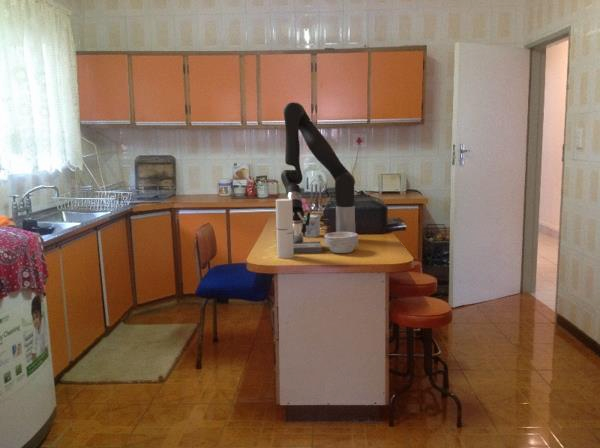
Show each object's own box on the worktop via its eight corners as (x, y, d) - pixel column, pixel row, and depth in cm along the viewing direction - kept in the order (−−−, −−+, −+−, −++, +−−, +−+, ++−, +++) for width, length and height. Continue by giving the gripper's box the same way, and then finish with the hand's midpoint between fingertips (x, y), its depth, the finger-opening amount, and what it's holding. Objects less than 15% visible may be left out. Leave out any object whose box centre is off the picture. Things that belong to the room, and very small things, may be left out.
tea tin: (301, 240, 257) (300, 219, 255) (305, 242, 252) (304, 220, 250) (289, 241, 255) (288, 220, 253) (293, 243, 250) (292, 222, 248)
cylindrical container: (277, 254, 242) (275, 199, 238) (293, 254, 243) (291, 198, 238) (277, 258, 235) (276, 201, 231) (294, 258, 236) (292, 200, 231)
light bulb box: (296, 236, 283) (296, 216, 281) (301, 234, 289) (301, 214, 287) (315, 237, 279) (315, 216, 277) (320, 235, 285) (320, 214, 283)
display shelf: (320, 246, 257) (320, 238, 257) (321, 252, 244) (321, 244, 244) (284, 247, 257) (284, 239, 257) (283, 253, 244) (283, 244, 244)
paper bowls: (324, 248, 254) (324, 231, 253) (357, 247, 254) (356, 230, 253) (324, 255, 239) (324, 237, 238) (359, 255, 239) (359, 237, 238)
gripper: (279, 199, 257) (281, 228, 247) (309, 197, 258) (313, 227, 248) (279, 208, 263) (281, 237, 253) (308, 207, 264) (312, 236, 255)
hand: (297, 232), depth 251 cm, fingers closed on tea tin, 5 cm apart
